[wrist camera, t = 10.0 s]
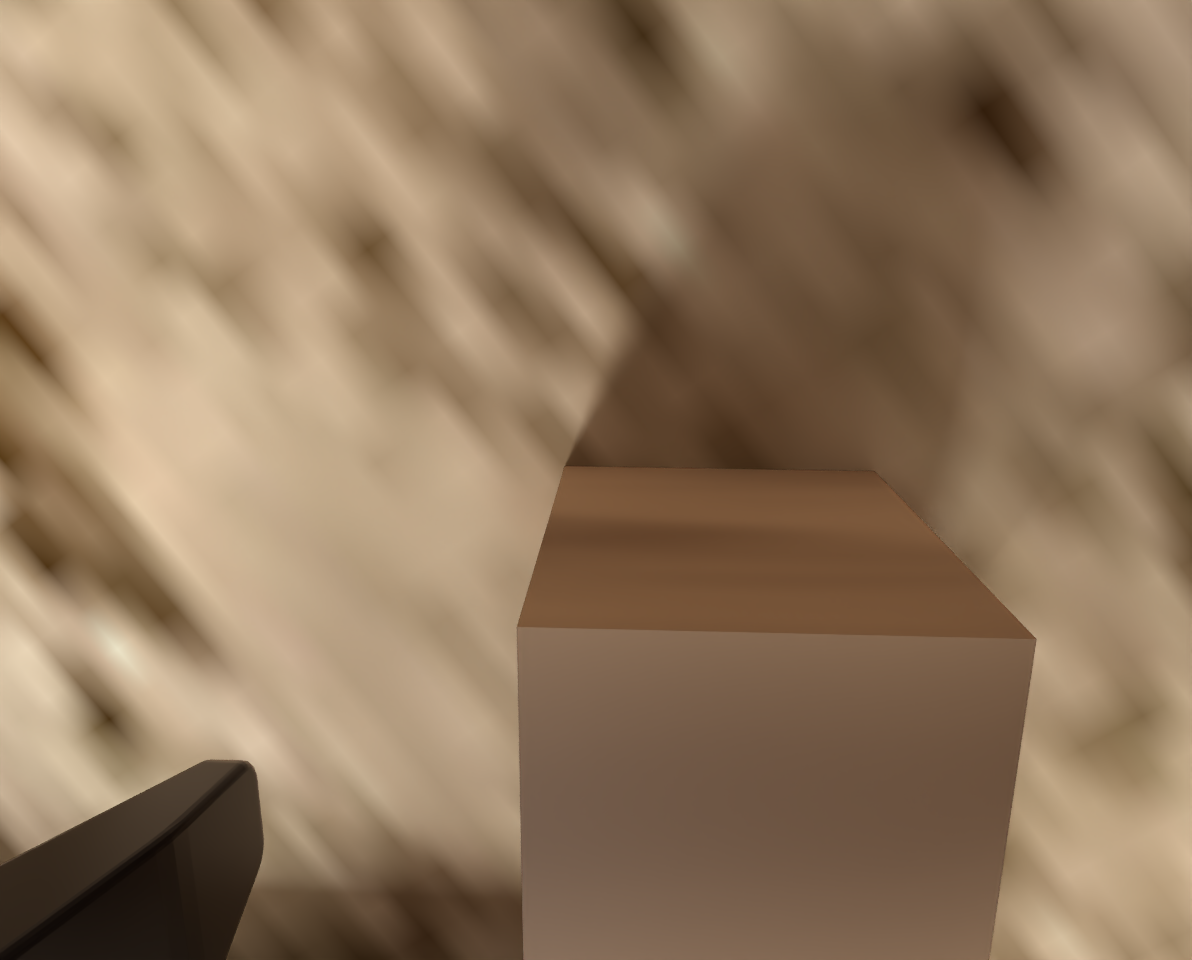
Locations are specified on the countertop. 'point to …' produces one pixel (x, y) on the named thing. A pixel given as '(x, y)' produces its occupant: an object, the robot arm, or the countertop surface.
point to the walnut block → (761, 723)
